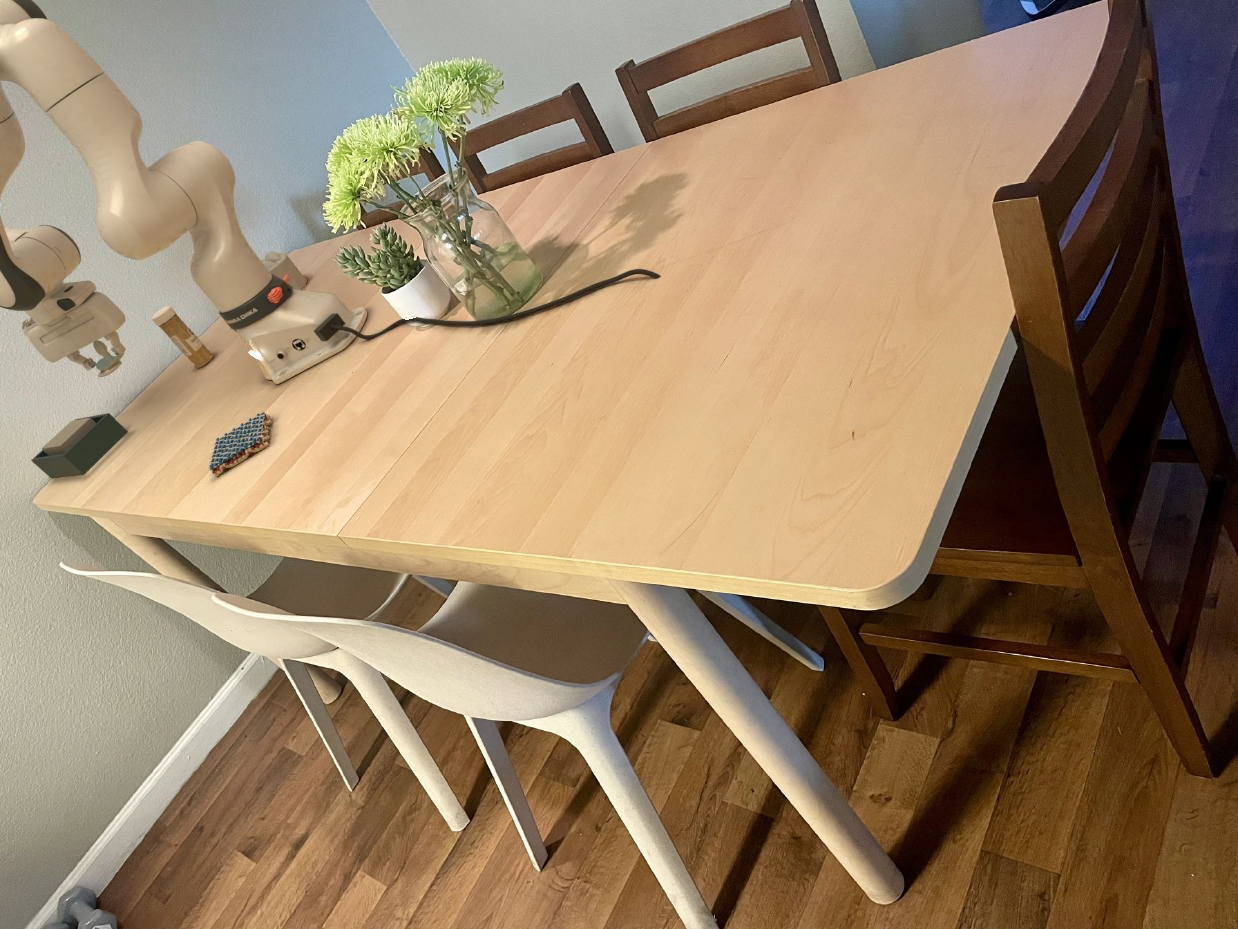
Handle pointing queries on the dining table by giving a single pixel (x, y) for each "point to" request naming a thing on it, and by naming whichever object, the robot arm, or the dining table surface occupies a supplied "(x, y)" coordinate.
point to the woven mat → (240, 443)
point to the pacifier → (106, 359)
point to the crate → (83, 449)
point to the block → (68, 436)
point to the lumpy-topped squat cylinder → (284, 269)
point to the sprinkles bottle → (182, 336)
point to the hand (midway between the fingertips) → (107, 360)
